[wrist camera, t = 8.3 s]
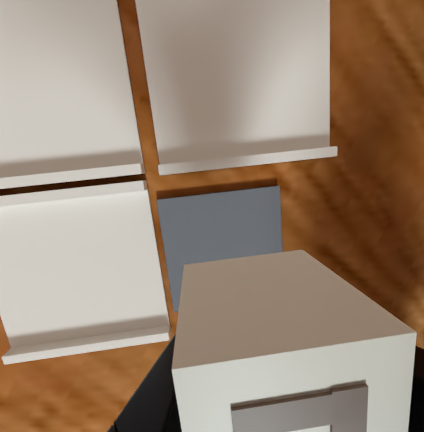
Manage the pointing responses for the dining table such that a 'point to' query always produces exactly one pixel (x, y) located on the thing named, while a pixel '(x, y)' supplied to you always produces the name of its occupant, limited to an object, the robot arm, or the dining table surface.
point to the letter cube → (287, 350)
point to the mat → (218, 228)
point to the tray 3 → (237, 81)
